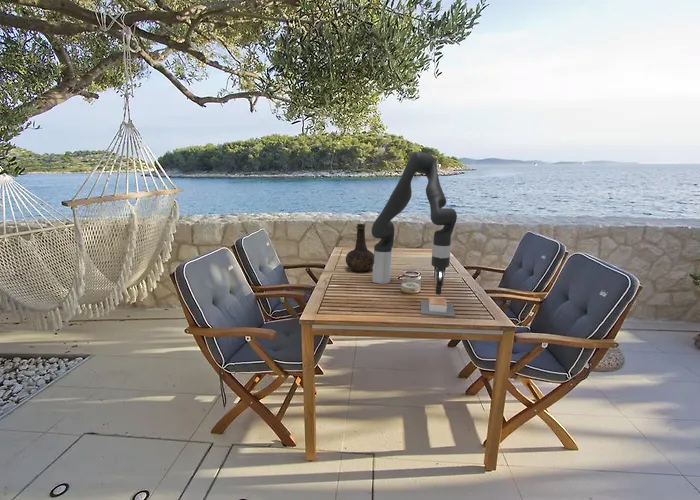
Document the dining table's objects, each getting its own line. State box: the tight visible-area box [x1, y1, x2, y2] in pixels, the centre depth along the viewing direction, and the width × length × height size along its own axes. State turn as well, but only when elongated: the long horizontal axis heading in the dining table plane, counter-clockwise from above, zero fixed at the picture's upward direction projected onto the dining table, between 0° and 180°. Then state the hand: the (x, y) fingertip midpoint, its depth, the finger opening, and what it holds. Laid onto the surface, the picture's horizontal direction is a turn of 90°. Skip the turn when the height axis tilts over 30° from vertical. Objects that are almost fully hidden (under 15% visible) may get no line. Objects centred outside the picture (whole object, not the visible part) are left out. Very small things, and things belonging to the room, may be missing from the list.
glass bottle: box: [345, 223, 374, 273], centre depth 231 cm, size 18×18×28 cm
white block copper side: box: [428, 297, 448, 312], centre depth 169 cm, size 7×4×8 cm
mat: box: [420, 300, 456, 318], centre depth 170 cm, size 14×16×1 cm
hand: (438, 294), depth 169 cm, fingers closed
